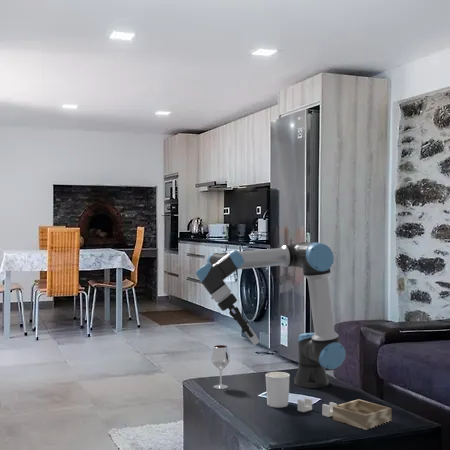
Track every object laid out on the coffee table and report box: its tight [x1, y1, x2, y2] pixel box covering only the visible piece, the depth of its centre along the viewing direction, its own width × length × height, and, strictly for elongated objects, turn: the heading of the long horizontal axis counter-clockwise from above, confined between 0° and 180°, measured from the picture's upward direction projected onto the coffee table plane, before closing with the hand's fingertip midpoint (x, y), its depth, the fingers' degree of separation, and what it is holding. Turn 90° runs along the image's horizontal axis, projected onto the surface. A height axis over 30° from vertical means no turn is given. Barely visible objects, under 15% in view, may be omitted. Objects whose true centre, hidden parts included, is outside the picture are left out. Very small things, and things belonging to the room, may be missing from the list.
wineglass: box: [211, 344, 231, 390], centre depth 271 cm, size 8×8×18 cm
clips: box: [297, 397, 338, 418], centre depth 234 cm, size 8×13×4 cm, turn 39°
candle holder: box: [265, 371, 291, 409], centre depth 245 cm, size 10×10×12 cm
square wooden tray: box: [332, 398, 392, 431], centre depth 225 cm, size 15×15×5 cm
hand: (255, 341), depth 244 cm, fingers open, 13 cm apart
